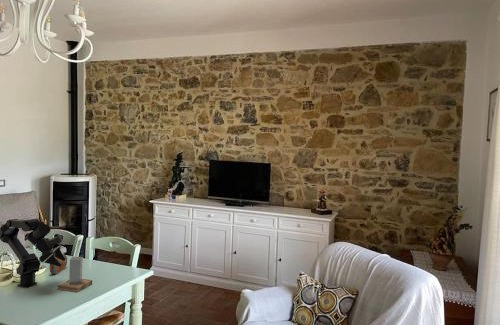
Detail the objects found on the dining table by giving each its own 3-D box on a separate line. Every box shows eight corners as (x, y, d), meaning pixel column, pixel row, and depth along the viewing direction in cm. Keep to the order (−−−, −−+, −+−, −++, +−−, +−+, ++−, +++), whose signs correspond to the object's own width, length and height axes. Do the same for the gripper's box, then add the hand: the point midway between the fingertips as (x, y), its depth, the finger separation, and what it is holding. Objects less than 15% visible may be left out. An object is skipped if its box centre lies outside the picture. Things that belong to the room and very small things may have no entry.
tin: (53, 276, 208) (54, 260, 207) (48, 275, 208) (48, 260, 207) (67, 267, 223) (67, 252, 222) (62, 266, 223) (62, 252, 222)
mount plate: (77, 292, 188) (77, 288, 188) (57, 289, 190) (57, 285, 190) (92, 283, 199) (92, 280, 199) (73, 281, 202) (73, 277, 202)
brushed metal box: (79, 284, 193) (80, 259, 192) (68, 284, 192) (69, 260, 191) (81, 280, 198) (82, 256, 197) (70, 281, 197) (71, 257, 196)
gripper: (47, 234, 182) (71, 257, 185) (56, 226, 200) (79, 246, 203) (28, 251, 180) (53, 273, 184) (39, 241, 199) (62, 261, 202)
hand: (62, 263), depth 193 cm, fingers open, 9 cm apart
